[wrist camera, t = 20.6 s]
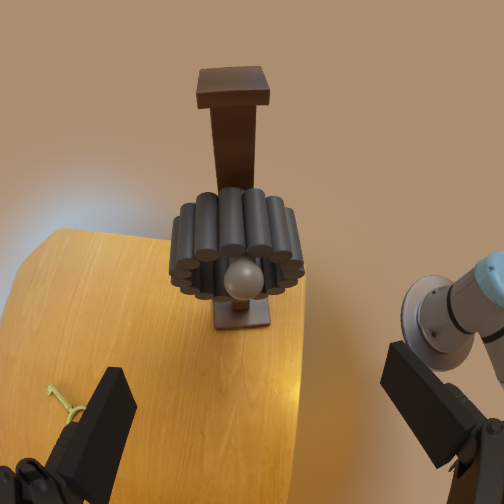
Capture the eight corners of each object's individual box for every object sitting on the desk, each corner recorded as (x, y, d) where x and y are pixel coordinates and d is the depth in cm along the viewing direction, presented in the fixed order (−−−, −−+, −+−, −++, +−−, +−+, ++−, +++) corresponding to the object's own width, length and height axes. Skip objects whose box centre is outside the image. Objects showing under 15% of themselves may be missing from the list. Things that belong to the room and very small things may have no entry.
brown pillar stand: (213, 290, 53) (164, 68, 17) (264, 286, 54) (294, 61, 17) (218, 363, 46) (113, 209, 9) (274, 358, 46) (371, 191, 10)
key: (54, 382, 41) (48, 380, 39) (96, 412, 39) (91, 412, 37) (45, 408, 37) (39, 408, 35) (87, 440, 35) (81, 441, 34)
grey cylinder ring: (283, 301, 28) (325, 246, 19) (175, 302, 26) (162, 242, 17) (277, 259, 30) (311, 192, 21) (177, 257, 28) (170, 184, 19)
